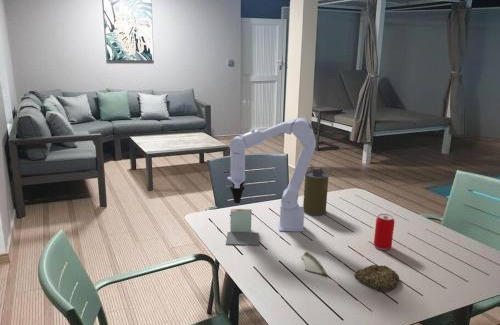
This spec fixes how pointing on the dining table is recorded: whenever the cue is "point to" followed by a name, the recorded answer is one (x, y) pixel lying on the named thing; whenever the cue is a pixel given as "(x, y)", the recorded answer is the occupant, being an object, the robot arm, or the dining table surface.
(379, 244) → the beverage can
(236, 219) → the peach green flat block
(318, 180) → the canister
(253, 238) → the mat
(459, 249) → the dining table surface
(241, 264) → the dining table surface
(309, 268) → the ceramic fragment
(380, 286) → the mossy rock
